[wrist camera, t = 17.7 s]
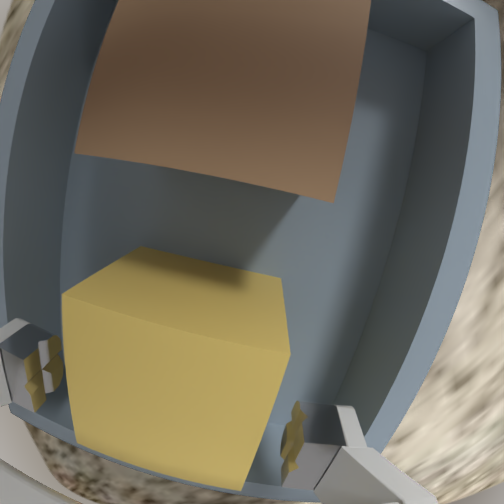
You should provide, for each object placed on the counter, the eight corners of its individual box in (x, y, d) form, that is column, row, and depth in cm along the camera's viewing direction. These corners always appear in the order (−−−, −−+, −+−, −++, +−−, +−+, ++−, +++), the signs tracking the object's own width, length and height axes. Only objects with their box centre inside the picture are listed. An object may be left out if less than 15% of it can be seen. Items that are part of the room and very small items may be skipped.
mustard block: (141, 246, 11) (61, 294, 6) (281, 278, 11) (290, 354, 6) (130, 362, 12) (76, 443, 7) (249, 393, 12) (241, 491, 7)
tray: (114, -9, 10) (66, -59, 5) (438, 49, 10) (497, 10, 5) (58, 363, 14) (11, 412, 9) (330, 431, 14) (344, 502, 9)
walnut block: (189, 28, 9) (142, -51, 4) (332, 53, 9) (373, -24, 4) (155, 161, 10) (73, 153, 5) (302, 191, 10) (333, 203, 5)
